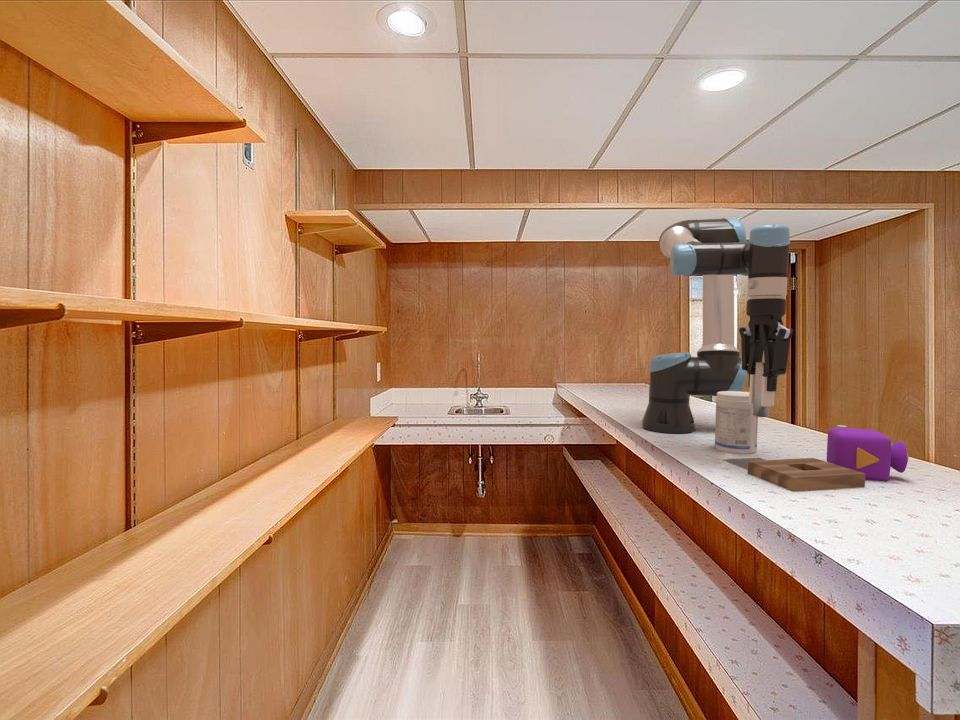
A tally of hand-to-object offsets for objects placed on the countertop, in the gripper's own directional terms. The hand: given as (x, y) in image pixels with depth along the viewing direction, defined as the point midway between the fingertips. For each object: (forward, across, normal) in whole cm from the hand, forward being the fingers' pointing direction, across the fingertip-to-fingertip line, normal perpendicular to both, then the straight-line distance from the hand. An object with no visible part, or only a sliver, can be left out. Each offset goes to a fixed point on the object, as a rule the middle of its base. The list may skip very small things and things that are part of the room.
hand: (761, 404), depth 112 cm
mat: (+14, +1, 0) cm, 14 cm away
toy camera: (+14, +10, +17) cm, 24 cm away
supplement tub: (+15, -14, +5) cm, 20 cm away
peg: (+3, 0, 0) cm, 3 cm away
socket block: (+14, +12, +1) cm, 18 cm away
